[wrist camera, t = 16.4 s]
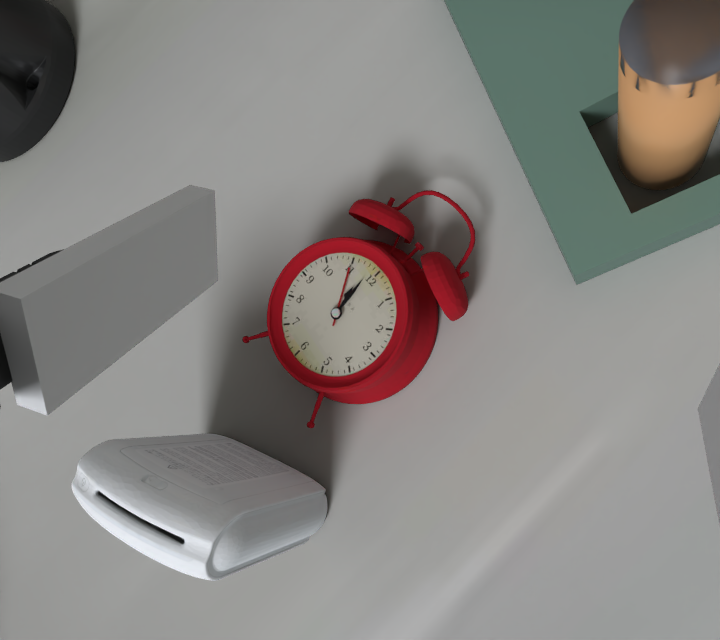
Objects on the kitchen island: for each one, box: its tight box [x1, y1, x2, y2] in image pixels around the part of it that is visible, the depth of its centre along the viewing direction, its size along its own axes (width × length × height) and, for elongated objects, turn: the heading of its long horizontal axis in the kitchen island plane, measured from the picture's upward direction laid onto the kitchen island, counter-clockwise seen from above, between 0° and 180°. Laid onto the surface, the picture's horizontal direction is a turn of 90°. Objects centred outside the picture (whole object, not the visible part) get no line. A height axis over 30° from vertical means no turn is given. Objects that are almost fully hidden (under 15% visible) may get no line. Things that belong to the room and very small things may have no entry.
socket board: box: [444, 0, 720, 285], centre depth 34 cm, size 22×14×2 cm, turn 21°
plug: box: [617, 0, 720, 190], centre depth 28 cm, size 4×4×12 cm
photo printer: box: [72, 433, 327, 580], centre depth 35 cm, size 10×4×12 cm, turn 69°
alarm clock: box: [243, 190, 475, 428], centre depth 37 cm, size 10×6×15 cm
